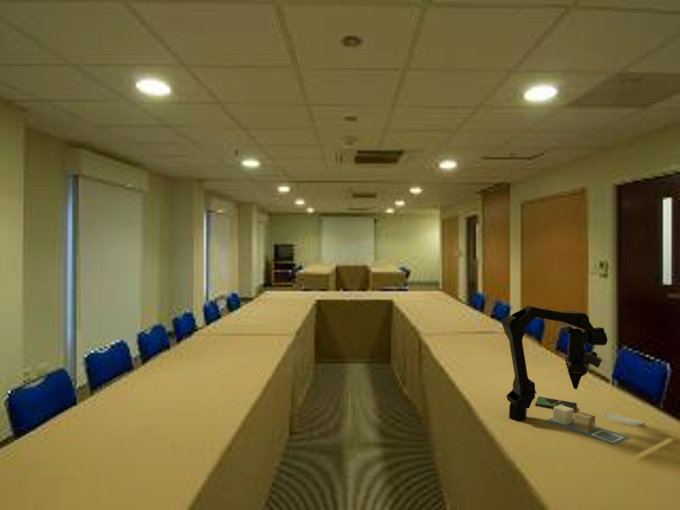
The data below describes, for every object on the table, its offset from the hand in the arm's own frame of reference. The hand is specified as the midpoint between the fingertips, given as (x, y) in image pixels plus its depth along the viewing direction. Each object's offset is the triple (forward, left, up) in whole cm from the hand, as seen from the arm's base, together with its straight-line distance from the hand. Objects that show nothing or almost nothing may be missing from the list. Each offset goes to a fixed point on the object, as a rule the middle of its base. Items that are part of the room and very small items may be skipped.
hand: (574, 385), depth 181 cm
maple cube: (-7, -8, -12) cm, 16 cm away
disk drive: (+7, +11, -14) cm, 20 cm away
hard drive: (+15, -11, -14) cm, 23 cm away
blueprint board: (-7, -8, -13) cm, 17 cm away
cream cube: (-7, 0, -12) cm, 14 cm away
